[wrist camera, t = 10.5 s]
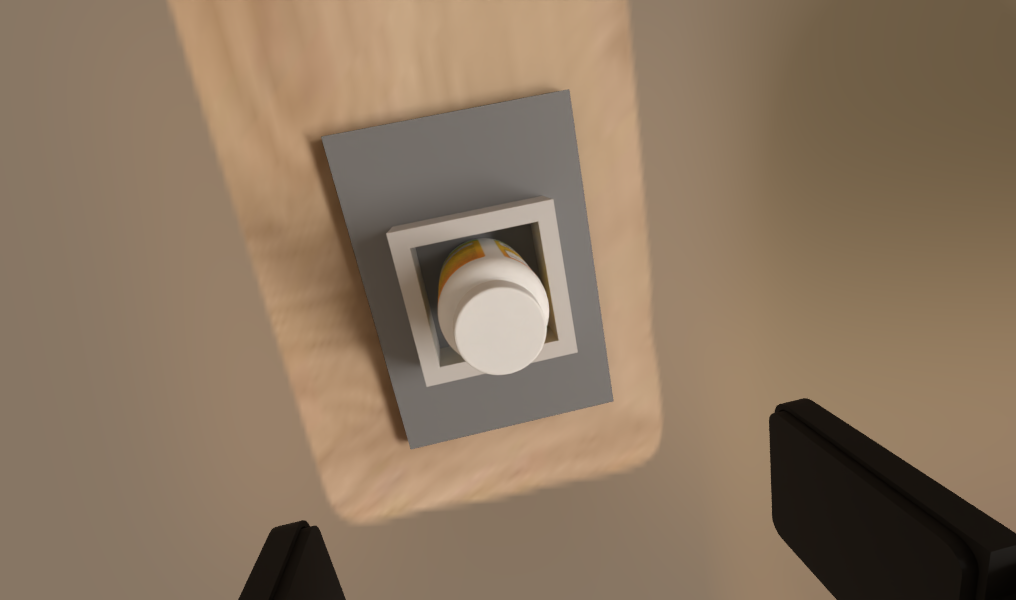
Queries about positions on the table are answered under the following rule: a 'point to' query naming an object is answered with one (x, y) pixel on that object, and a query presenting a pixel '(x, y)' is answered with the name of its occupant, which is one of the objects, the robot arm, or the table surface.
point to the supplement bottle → (492, 307)
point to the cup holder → (463, 217)
